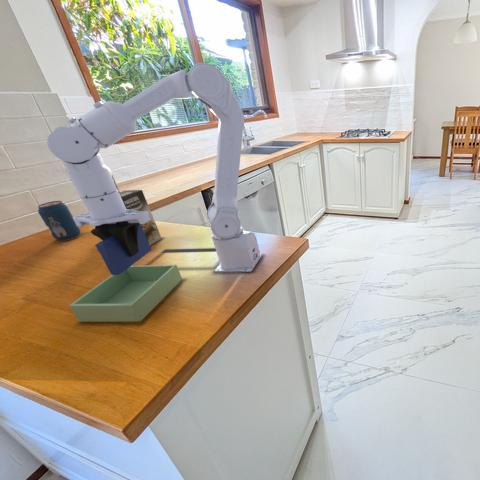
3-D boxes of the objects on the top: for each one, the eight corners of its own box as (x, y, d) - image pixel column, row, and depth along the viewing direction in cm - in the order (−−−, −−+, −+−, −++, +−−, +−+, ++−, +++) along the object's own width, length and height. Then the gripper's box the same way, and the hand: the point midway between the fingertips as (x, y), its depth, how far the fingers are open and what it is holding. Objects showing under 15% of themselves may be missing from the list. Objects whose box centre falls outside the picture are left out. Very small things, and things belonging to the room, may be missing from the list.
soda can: (79, 231, 102) (60, 198, 96) (85, 235, 98) (66, 201, 92) (53, 239, 97) (32, 205, 91) (58, 244, 93) (37, 209, 87)
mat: (231, 249, 82) (231, 247, 82) (214, 268, 73) (213, 267, 73) (165, 250, 84) (164, 249, 84) (141, 270, 75) (140, 268, 75)
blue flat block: (152, 250, 67) (139, 222, 64) (118, 275, 58) (102, 244, 55) (145, 250, 67) (133, 222, 64) (111, 275, 58) (95, 244, 55)
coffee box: (139, 252, 84) (114, 200, 76) (121, 252, 85) (95, 200, 77) (163, 238, 91) (142, 189, 84) (146, 237, 93) (124, 189, 85)
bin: (183, 280, 69) (176, 264, 67) (141, 323, 57) (131, 305, 55) (132, 281, 70) (124, 265, 68) (80, 323, 58) (68, 305, 56)
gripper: (44, 202, 52) (82, 265, 59) (118, 198, 51) (148, 263, 58) (79, 189, 59) (109, 248, 65) (145, 186, 57) (170, 246, 64)
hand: (129, 254), depth 62 cm, fingers closed on blue flat block, 2 cm apart
